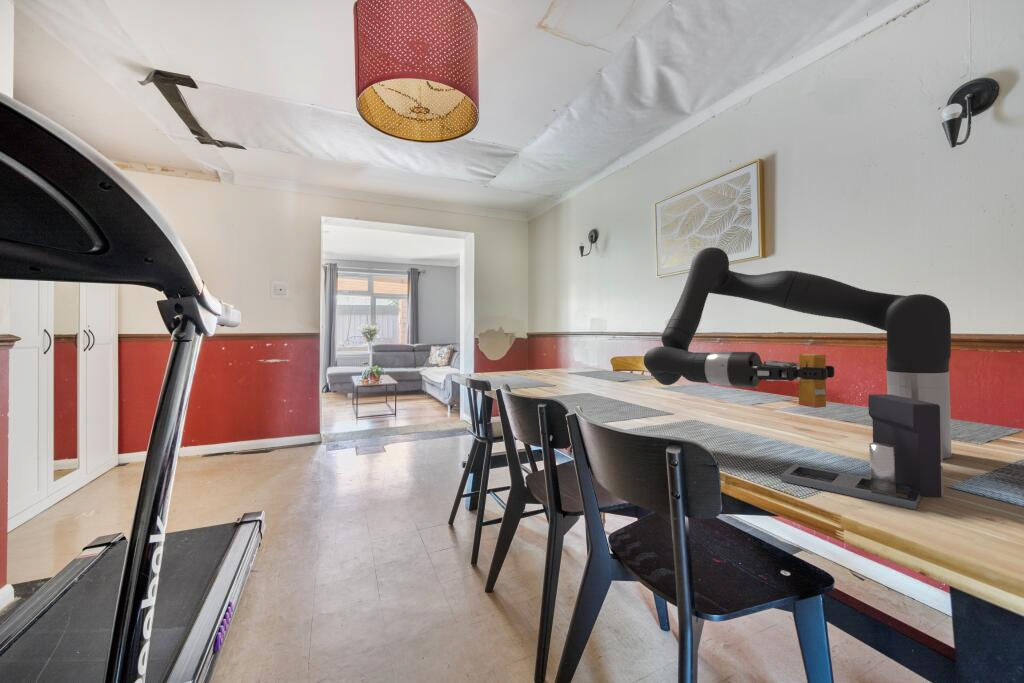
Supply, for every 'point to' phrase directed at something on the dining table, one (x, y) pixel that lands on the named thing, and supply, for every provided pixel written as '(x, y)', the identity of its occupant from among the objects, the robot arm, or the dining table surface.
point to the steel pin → (882, 468)
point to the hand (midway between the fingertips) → (830, 372)
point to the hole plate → (851, 486)
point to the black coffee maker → (911, 439)
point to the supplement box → (812, 382)
